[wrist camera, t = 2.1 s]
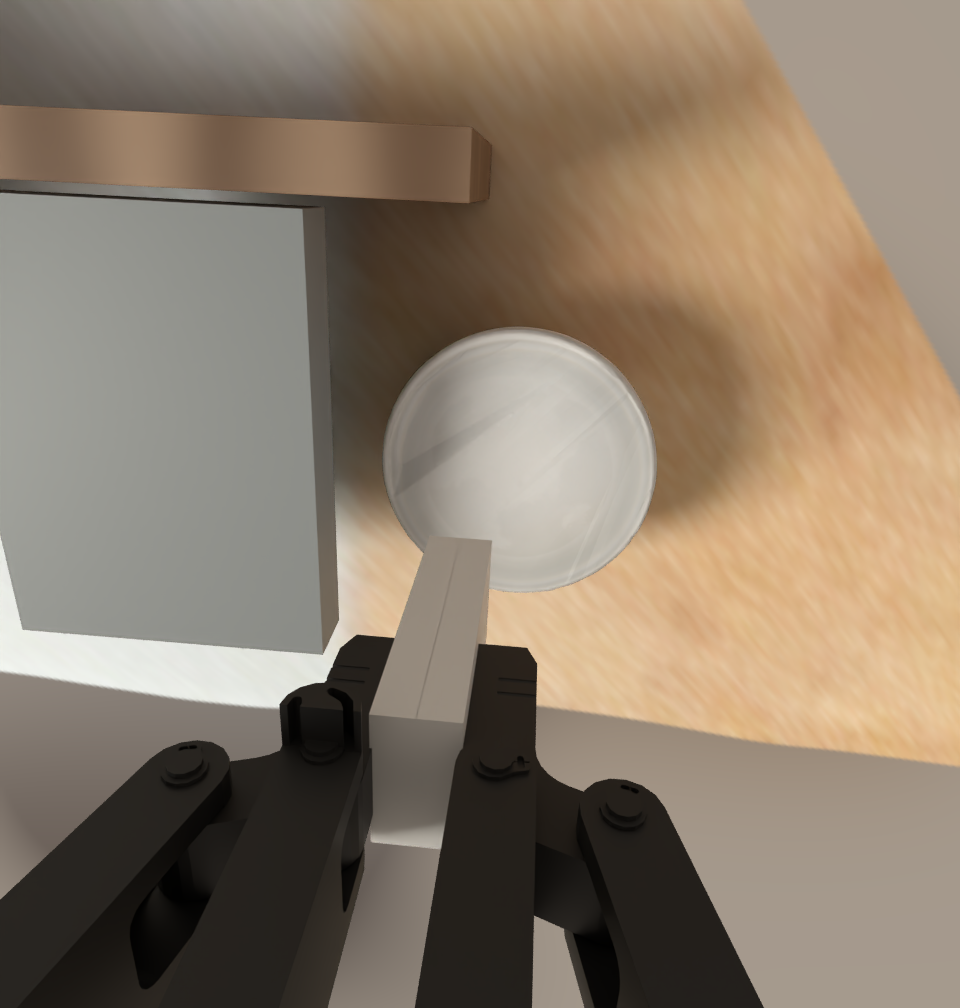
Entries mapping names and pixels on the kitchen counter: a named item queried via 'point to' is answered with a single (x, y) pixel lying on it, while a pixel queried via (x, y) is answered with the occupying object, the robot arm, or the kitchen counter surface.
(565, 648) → the kitchen counter surface
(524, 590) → the ramekin
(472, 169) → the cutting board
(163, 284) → the lid
